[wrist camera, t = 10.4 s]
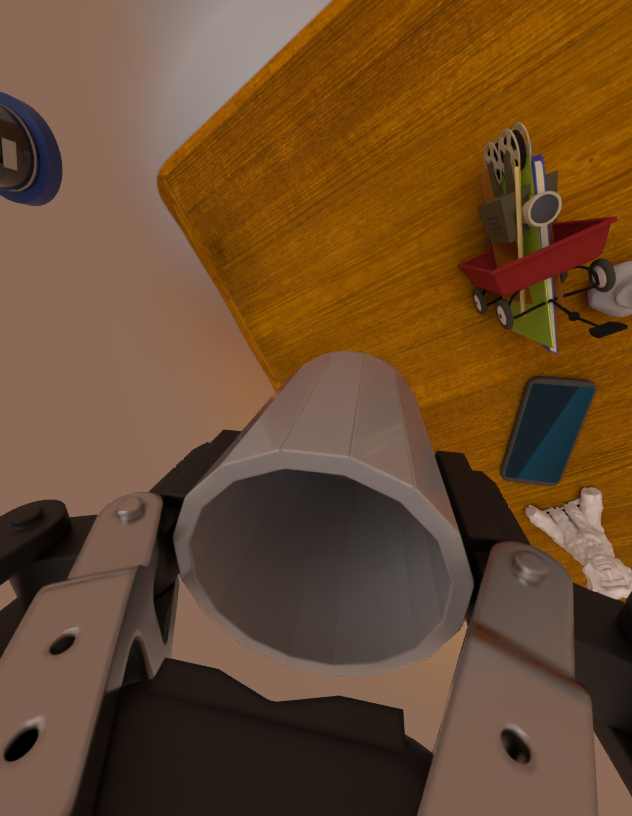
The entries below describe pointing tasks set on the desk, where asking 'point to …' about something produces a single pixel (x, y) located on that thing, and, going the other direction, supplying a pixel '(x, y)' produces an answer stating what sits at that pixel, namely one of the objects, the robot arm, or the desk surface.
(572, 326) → the desk surface
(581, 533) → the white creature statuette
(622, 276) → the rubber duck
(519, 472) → the smartphone
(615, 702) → the robot arm
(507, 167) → the loaded red toy wagon
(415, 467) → the grey cup
